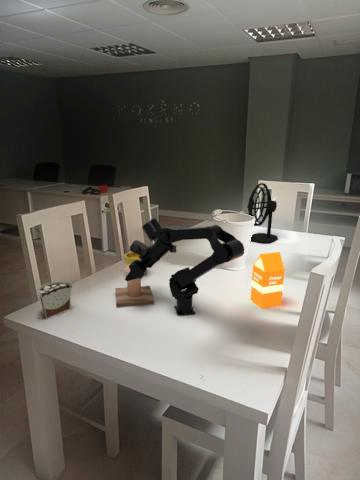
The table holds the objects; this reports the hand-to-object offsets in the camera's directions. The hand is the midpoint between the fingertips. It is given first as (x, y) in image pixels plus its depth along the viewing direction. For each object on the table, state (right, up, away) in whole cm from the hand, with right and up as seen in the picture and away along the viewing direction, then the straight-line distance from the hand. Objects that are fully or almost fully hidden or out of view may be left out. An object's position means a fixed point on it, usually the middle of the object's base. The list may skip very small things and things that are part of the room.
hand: (130, 275), depth 133 cm
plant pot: (-1, -2, +25) cm, 26 cm away
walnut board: (+1, -9, +2) cm, 9 cm away
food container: (-26, -12, -9) cm, 30 cm away
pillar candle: (+1, -7, +2) cm, 8 cm away
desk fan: (+71, +14, +87) cm, 113 cm away
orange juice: (+52, -10, 0) cm, 53 cm away
